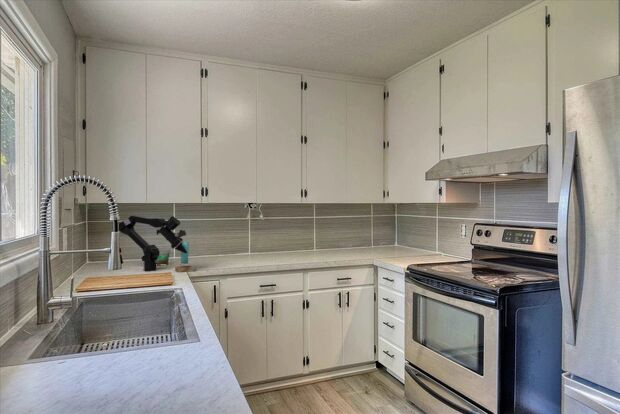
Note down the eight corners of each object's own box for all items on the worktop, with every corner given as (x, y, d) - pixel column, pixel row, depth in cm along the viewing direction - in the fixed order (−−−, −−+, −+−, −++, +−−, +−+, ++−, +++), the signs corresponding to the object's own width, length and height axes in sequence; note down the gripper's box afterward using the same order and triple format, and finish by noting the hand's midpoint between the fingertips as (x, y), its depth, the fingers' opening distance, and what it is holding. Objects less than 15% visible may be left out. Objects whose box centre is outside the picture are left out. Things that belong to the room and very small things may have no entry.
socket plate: (179, 272, 231) (179, 268, 231) (175, 270, 238) (175, 266, 238) (193, 271, 236) (193, 267, 236) (189, 269, 243) (189, 265, 243)
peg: (181, 263, 234) (182, 242, 234) (179, 262, 238) (180, 242, 238) (188, 263, 237) (189, 242, 237) (186, 262, 240) (187, 242, 240)
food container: (150, 265, 259) (150, 250, 259) (151, 264, 265) (151, 250, 265) (169, 265, 262) (169, 250, 262) (170, 264, 268) (170, 249, 268)
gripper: (177, 226, 228) (196, 244, 230) (179, 225, 246) (197, 242, 248) (163, 239, 225) (182, 257, 228) (166, 237, 244) (184, 254, 246)
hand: (187, 252), depth 238 cm, fingers closed on peg, 4 cm apart
